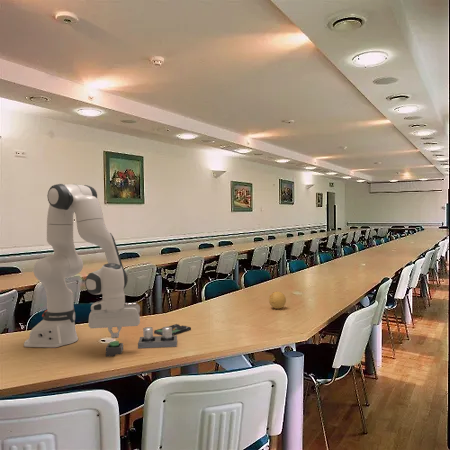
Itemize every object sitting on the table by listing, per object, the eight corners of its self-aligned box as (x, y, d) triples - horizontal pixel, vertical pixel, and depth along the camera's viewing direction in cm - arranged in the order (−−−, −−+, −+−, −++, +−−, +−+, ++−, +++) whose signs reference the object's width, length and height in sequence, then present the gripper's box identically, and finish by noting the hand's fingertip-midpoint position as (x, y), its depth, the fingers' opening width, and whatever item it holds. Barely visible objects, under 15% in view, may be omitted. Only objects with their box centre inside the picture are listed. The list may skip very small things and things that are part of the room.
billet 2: (162, 345, 184) (162, 329, 184) (163, 342, 188) (162, 326, 188) (172, 345, 184) (171, 328, 184) (172, 342, 188) (172, 326, 188)
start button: (109, 346, 174) (109, 343, 174) (110, 344, 178) (110, 341, 178) (118, 346, 174) (118, 343, 174) (119, 343, 178) (119, 340, 178)
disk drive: (175, 329, 214) (153, 336, 202) (175, 323, 214) (153, 330, 202) (191, 332, 208) (169, 339, 196) (191, 327, 208) (169, 333, 196)
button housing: (105, 356, 173) (105, 348, 173) (108, 351, 179) (108, 343, 179) (121, 356, 174) (120, 347, 173) (123, 351, 179) (123, 342, 179)
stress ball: (287, 310, 253) (283, 296, 260) (288, 299, 246) (283, 286, 253) (271, 313, 252) (266, 300, 259) (271, 303, 245) (266, 289, 253)
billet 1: (143, 346, 183) (143, 329, 183) (144, 343, 187) (143, 327, 187) (153, 345, 184) (152, 329, 183) (153, 342, 188) (152, 326, 187)
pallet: (138, 350, 180) (137, 343, 180) (140, 343, 189) (140, 336, 189) (176, 348, 182) (176, 341, 182) (177, 342, 191) (177, 335, 191)
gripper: (140, 301, 180) (141, 334, 180) (90, 303, 178) (91, 336, 178) (139, 304, 173) (140, 338, 174) (86, 306, 171) (88, 341, 172)
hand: (115, 337), depth 176 cm, fingers closed
